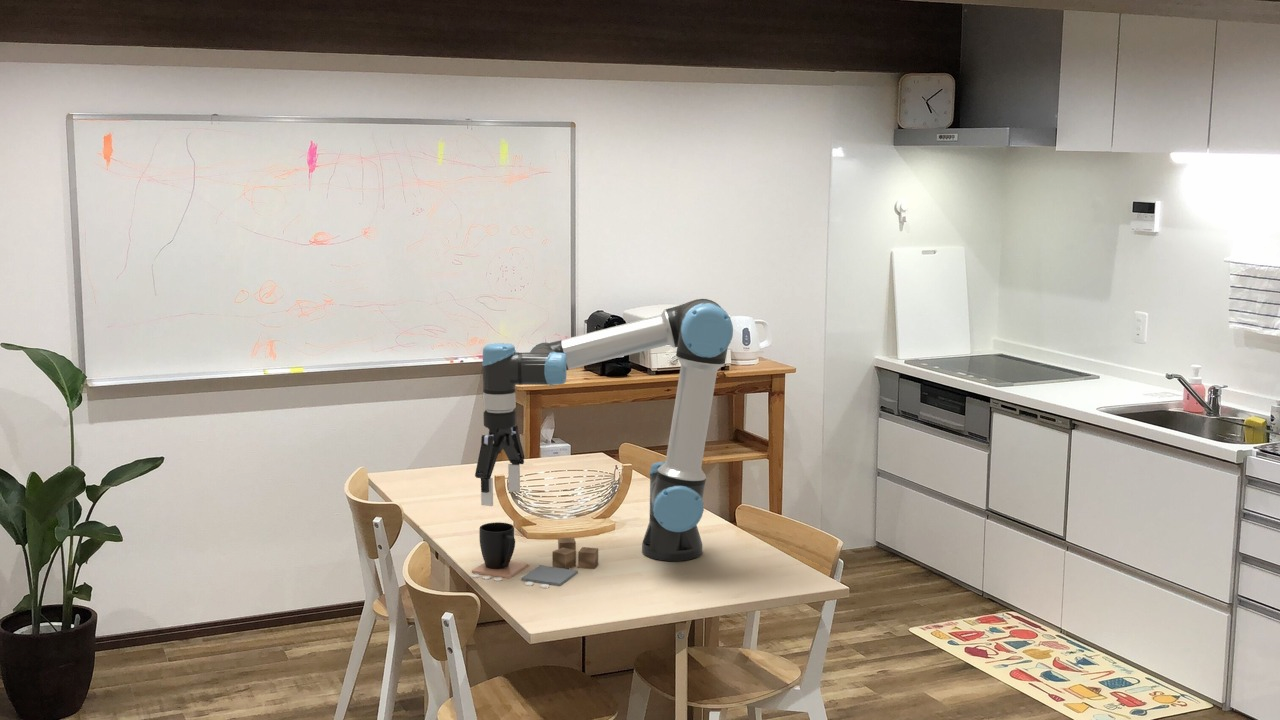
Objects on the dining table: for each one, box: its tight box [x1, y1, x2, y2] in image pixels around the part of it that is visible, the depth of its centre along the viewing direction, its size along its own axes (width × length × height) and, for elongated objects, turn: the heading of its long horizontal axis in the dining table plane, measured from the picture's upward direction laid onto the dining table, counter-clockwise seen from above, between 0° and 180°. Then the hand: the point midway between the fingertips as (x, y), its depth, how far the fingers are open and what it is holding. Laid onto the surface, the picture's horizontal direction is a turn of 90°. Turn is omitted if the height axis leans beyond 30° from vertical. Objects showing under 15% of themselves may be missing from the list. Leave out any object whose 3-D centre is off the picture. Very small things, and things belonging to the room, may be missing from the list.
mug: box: [478, 521, 516, 569], centre depth 292 cm, size 8×12×10 cm
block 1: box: [557, 537, 577, 551], centre depth 304 cm, size 4×4×4 cm
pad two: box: [520, 564, 579, 589], centre depth 287 cm, size 10×13×1 cm
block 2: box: [551, 548, 577, 569], centre depth 296 cm, size 4×4×4 cm
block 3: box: [577, 546, 599, 570], centre depth 297 cm, size 4×4×4 cm
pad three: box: [470, 560, 530, 582], centre depth 292 cm, size 10×13×1 cm
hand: (501, 498), depth 291 cm, fingers open, 13 cm apart
